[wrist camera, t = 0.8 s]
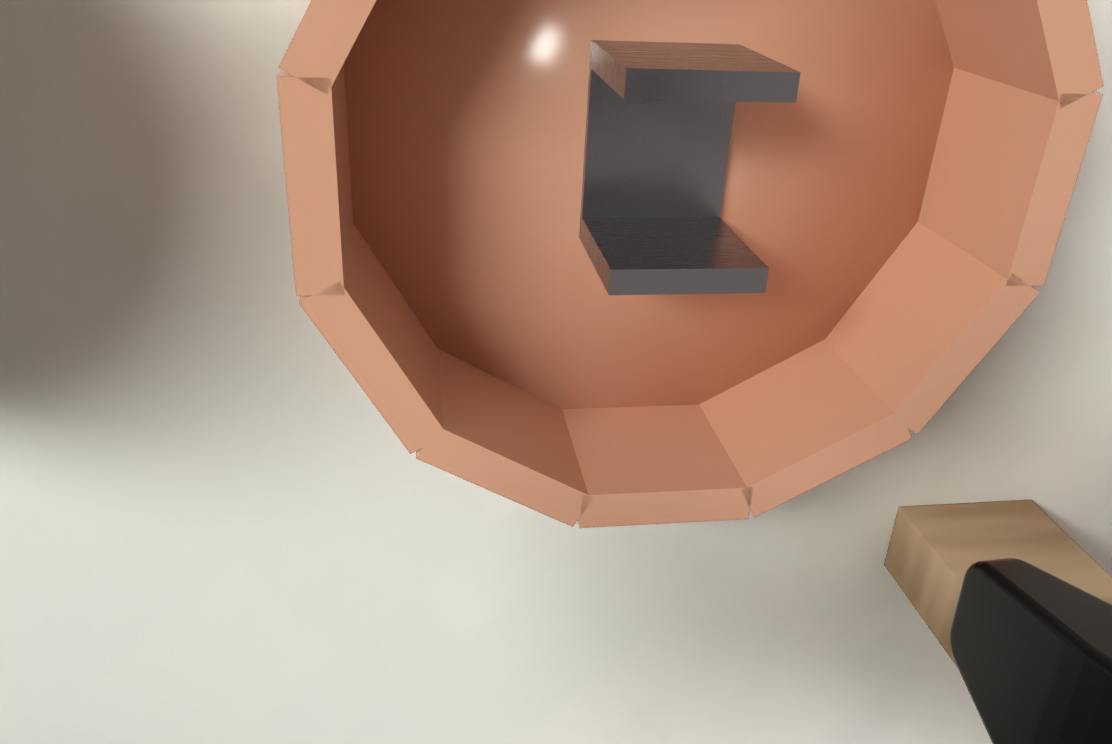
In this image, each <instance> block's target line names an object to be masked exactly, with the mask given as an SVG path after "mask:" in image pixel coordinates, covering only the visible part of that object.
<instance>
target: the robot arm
mask: <svg viewBox="0 0 1112 744" xmlns="http://www.w3.org/2000/svg"><path fill="white" fill-rule="evenodd" d="M950 644H951V650H952V654H953V657H954V660H955V662H956V664H957V667H958V669H959V671H960V673H961V675H962V677H963V680H964V682H965V684H966V686H967V688H968V691H969V693H970V695H971V697H972V699H973V701H974V704H975V706H976V708H977V710H978V712H979V715H980V717H981V719H982V721H983V723H984V725H985V728H986V730H987V732H988V734H989V736H990V739H991V741H992V743H993V744H1112V604H1110V603H1108V602H1106V601H1104V600H1102V599H1100V598H1098V597H1096V596H1094V595H1092V594H1090V593H1088V592H1086V591H1084V590H1082V589H1080V588H1078V587H1076V586H1074V585H1072V584H1070V583H1068V582H1066V581H1064V580H1062V579H1060V578H1058V577H1056V576H1054V575H1052V574H1050V573H1048V572H1046V571H1044V570H1042V569H1040V568H1038V567H1036V566H1034V565H1032V564H1030V563H1028V562H1026V561H1023V560H1021V559H1016V558H1005V559H995V560H985V561H978V562H976V563H973V564H972V565H971V566H970V567H969V568H968V569H967V571H966V573H965V576H964V580H963V583H962V587H961V591H960V595H959V599H958V602H957V606H956V610H955V614H954V618H953V621H952V625H951V630H950Z"/></svg>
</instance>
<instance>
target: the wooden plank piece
mask: <svg viewBox="0 0 1112 744" xmlns="http://www.w3.org/2000/svg"><path fill="white" fill-rule="evenodd" d="M1005 558H1016V559H1021V560H1023V561H1026V562H1028V563H1030V564H1032V565H1034V566H1036V567H1038V568H1040V569H1042V570H1044V571H1046V572H1048V573H1050V574H1052V575H1054V576H1056V577H1058V578H1060V579H1062V580H1064V581H1066V582H1068V583H1070V584H1072V585H1074V586H1076V587H1078V588H1080V589H1082V590H1084V591H1086V592H1088V593H1090V594H1092V595H1094V596H1096V597H1098V598H1100V599H1102V600H1104V601H1106V602H1108V603H1110V604H1112V577H1111V576H1110V575H1109V574H1108V573H1107V572H1106V571H1105V570H1104V569H1103V568H1102V567H1101V566H1100V565H1099V564H1098V563H1097V562H1096V561H1095V560H1094V559H1092V558H1091V557H1090V556H1089V555H1088V554H1087V553H1086V552H1085V551H1084V550H1083V549H1082V548H1081V547H1080V546H1079V545H1078V544H1077V543H1076V542H1075V541H1074V540H1073V539H1072V538H1071V537H1070V536H1069V535H1068V534H1067V533H1066V532H1065V531H1064V530H1062V529H1061V528H1060V527H1059V526H1058V525H1057V524H1056V523H1055V522H1054V521H1053V520H1052V519H1051V518H1050V517H1049V516H1048V515H1047V514H1046V513H1045V512H1044V511H1043V510H1042V509H1041V508H1040V507H1039V506H1038V505H1037V504H1036V503H1035V502H1034V501H1033V500H1018V501H999V502H980V503H961V504H942V505H923V506H904V507H899V509H898V513H897V517H896V521H895V524H894V528H893V532H892V536H891V540H890V544H889V547H888V551H887V555H886V559H885V563H884V565H885V567H886V568H887V570H888V571H889V572H890V574H891V575H892V577H893V578H894V579H895V581H896V582H897V583H898V585H899V586H900V588H901V589H902V590H903V592H904V593H905V595H906V596H907V597H908V599H909V600H910V602H911V603H912V604H913V606H914V607H915V609H916V610H917V611H918V613H919V614H920V616H921V617H922V618H923V620H924V621H925V623H926V624H927V625H928V627H929V628H930V630H931V631H932V632H933V634H934V635H935V637H936V638H937V639H938V641H939V642H940V644H941V645H942V646H943V648H944V649H945V651H946V652H947V653H948V655H949V656H950V657H951V659H952V660H953V662H954V663H955V664H956V662H955V660H954V657H953V654H952V650H951V644H950V630H951V625H952V621H953V618H954V614H955V610H956V606H957V602H958V599H959V595H960V591H961V587H962V583H963V580H964V576H965V573H966V571H967V569H968V568H969V567H970V566H971V565H972V564H973V563H976V562H978V561H985V560H995V559H1005ZM956 666H957V664H956Z"/></svg>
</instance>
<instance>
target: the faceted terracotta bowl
mask: <svg viewBox="0 0 1112 744" xmlns="http://www.w3.org/2000/svg"><path fill="white" fill-rule="evenodd" d="M591 40H608V41H643V42H678V43H713V44H740V45H742V46H744V47H747V48H749V49H751V50H753V51H755V52H758V53H760V54H762V55H764V56H766V57H768V58H771V59H773V60H775V61H777V62H779V63H782V64H784V65H786V66H788V67H790V68H792V69H795V70H797V71H799V72H801V74H800V80H799V87H798V93H797V99H796V103H783V102H735V109H734V117H733V124H732V132H731V139H730V147H729V155H728V162H727V170H726V177H725V185H724V192H723V200H722V207H721V215H720V218H721V219H722V220H723V221H724V222H725V223H726V224H727V225H728V226H729V227H730V228H731V229H732V230H733V231H734V232H735V233H736V234H737V235H738V236H739V238H740V239H741V240H742V241H743V242H744V243H745V244H746V245H747V246H748V247H749V248H750V249H751V250H752V251H753V252H754V253H755V254H756V255H757V256H758V257H759V258H760V259H761V260H762V261H763V262H764V263H765V264H766V265H767V266H768V267H769V272H768V279H767V285H766V291H765V293H737V294H667V295H608V293H607V291H606V289H605V287H604V285H603V283H602V281H601V279H600V277H599V275H598V273H597V271H596V269H595V268H594V266H593V264H592V262H591V260H590V258H589V256H588V254H587V252H586V250H585V248H584V246H583V244H582V242H581V240H580V238H579V231H580V215H581V198H582V182H583V165H584V148H585V132H586V115H587V99H588V82H589V66H590V49H591ZM279 68H281V69H282V70H281V71H280V73H279V74H278V76H277V84H278V96H279V107H280V118H281V130H282V141H283V152H284V164H285V175H286V186H287V197H288V209H289V220H290V231H291V243H292V254H293V265H294V277H295V288H296V296H301V298H300V302H299V304H300V305H301V307H302V308H303V309H304V311H305V312H306V313H307V315H308V316H309V317H310V319H311V320H312V321H313V323H314V324H315V326H316V327H317V328H318V330H319V331H320V332H321V334H322V335H323V336H324V338H325V339H326V340H327V342H328V343H329V344H330V346H331V347H332V349H333V350H334V351H335V353H336V354H337V355H338V357H339V358H340V359H341V361H342V362H343V363H344V365H345V366H346V367H347V369H348V370H349V372H350V373H351V374H352V376H353V377H354V378H355V380H356V381H357V382H358V384H359V385H360V386H361V388H362V389H363V390H364V392H365V393H366V395H367V396H368V397H369V399H370V400H371V401H372V403H373V404H374V405H375V407H376V408H377V409H378V411H379V412H380V413H381V415H382V416H383V418H384V419H385V420H386V422H387V423H388V424H389V426H390V427H391V428H392V430H393V431H394V432H395V434H396V435H397V436H398V438H399V439H400V441H401V442H402V443H403V445H404V446H405V447H406V449H407V450H408V451H409V453H410V454H411V453H413V452H415V451H416V459H419V460H421V461H423V462H426V463H428V464H430V465H432V466H435V467H437V468H439V469H442V470H444V471H446V472H448V473H451V474H453V475H455V476H458V477H460V478H462V479H464V480H467V481H469V482H471V483H474V484H476V485H478V486H480V487H483V488H485V489H487V490H490V491H492V492H494V493H496V494H499V495H501V496H503V497H506V498H508V499H510V500H512V501H515V502H517V503H519V504H522V505H524V506H526V507H528V508H531V509H533V510H535V511H538V512H540V513H542V514H545V515H547V516H549V517H551V518H554V519H556V520H558V521H561V522H563V523H565V524H567V525H570V526H572V527H573V526H574V525H575V523H576V522H577V521H578V524H579V528H589V527H608V526H626V525H645V524H664V523H683V522H702V521H721V520H739V519H748V517H749V511H750V510H751V511H752V513H753V515H754V517H756V516H758V515H760V514H762V513H764V512H766V511H768V510H770V509H772V508H774V507H776V506H778V505H780V504H782V503H784V502H786V501H788V500H790V499H792V498H794V497H796V496H798V495H800V494H802V493H804V492H806V491H808V490H810V489H812V488H814V487H816V486H818V485H820V484H822V483H824V482H826V481H828V480H830V479H832V478H834V477H836V476H838V475H840V474H842V473H844V472H846V471H848V470H850V469H852V468H854V467H856V466H858V465H860V464H862V463H864V462H866V461H868V460H870V459H872V458H874V457H876V456H878V455H880V454H882V453H884V452H886V451H888V450H890V449H892V448H894V447H896V446H898V445H899V444H901V443H903V442H905V441H907V440H909V439H911V435H910V433H909V430H908V429H910V430H911V431H913V432H915V433H917V434H918V433H919V432H920V430H921V429H922V428H923V427H924V426H925V425H926V423H927V422H928V421H929V420H930V419H931V418H932V416H933V415H934V414H935V413H936V412H937V411H938V410H939V408H940V407H941V406H942V405H943V404H944V403H945V401H946V400H947V399H948V398H949V397H950V396H951V395H952V393H953V392H954V391H955V390H956V389H957V388H958V386H959V385H960V384H961V383H962V382H963V381H964V380H965V378H966V377H967V376H968V375H969V374H970V373H971V371H972V370H973V369H974V368H975V367H976V366H977V365H978V363H979V362H980V361H981V360H982V359H983V358H984V356H985V355H986V354H987V353H988V352H989V351H990V350H991V348H992V347H993V346H994V345H995V344H996V343H997V341H998V340H999V339H1000V338H1001V337H1002V336H1003V334H1004V333H1005V332H1006V331H1007V330H1008V329H1009V328H1010V326H1011V325H1012V324H1013V323H1014V322H1015V321H1016V319H1017V318H1018V317H1019V316H1020V315H1021V314H1022V313H1023V311H1024V310H1025V309H1026V308H1027V307H1028V306H1029V304H1030V303H1031V302H1032V301H1033V300H1034V299H1035V298H1036V296H1037V295H1038V294H1039V293H1040V292H1039V291H1037V290H1036V289H1034V288H1033V287H1032V286H1044V283H1045V280H1046V277H1047V274H1048V270H1049V267H1050V264H1051V261H1052V257H1053V254H1054V251H1055V248H1056V244H1057V241H1058V238H1059V235H1060V231H1061V228H1062V225H1063V222H1064V218H1065V215H1066V212H1067V209H1068V206H1069V202H1070V199H1071V196H1072V193H1073V189H1074V186H1075V183H1076V180H1077V176H1078V173H1079V170H1080V167H1081V163H1082V160H1083V157H1084V154H1085V150H1086V147H1087V144H1088V141H1089V137H1090V134H1091V131H1092V128H1093V125H1094V121H1095V118H1096V115H1097V112H1098V108H1099V105H1100V102H1101V99H1102V95H1103V94H1100V93H1097V92H1093V91H1095V90H1097V89H1099V88H1101V87H1102V86H1103V81H1102V76H1101V71H1100V66H1099V60H1098V55H1097V50H1096V45H1095V40H1094V35H1093V29H1092V24H1091V19H1090V14H1089V9H1088V4H1087V0H311V2H310V4H309V6H308V8H307V10H306V13H305V15H304V17H303V19H302V21H301V23H300V25H299V27H298V29H297V31H296V33H295V35H294V37H293V39H292V41H291V43H290V45H289V47H288V49H287V51H286V53H285V55H284V57H283V59H282V61H281V63H280V65H279Z"/></svg>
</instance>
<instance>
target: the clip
mask: <svg viewBox="0 0 1112 744" xmlns="http://www.w3.org/2000/svg"><path fill="white" fill-rule="evenodd" d="M800 74H801V72H799V71H797V70H795V69H792V68H790V67H788V66H786V65H784V64H782V63H779V62H777V61H775V60H773V59H771V58H768V57H766V56H764V55H762V54H760V53H758V52H755V51H753V50H751V49H749V48H747V47H744V46H742V45H740V44H713V43H678V42H643V41H608V40H591V49H590V66H589V82H588V99H587V115H586V132H585V148H584V165H583V182H582V198H581V215H580V231H579V238H580V240H581V242H582V244H583V246H584V248H585V250H586V252H587V254H588V256H589V258H590V260H591V262H592V264H593V266H594V268H595V269H596V271H597V273H598V275H599V277H600V279H601V281H602V283H603V285H604V287H605V289H606V291H607V293H608V295H667V294H737V293H765V291H766V285H767V279H768V272H769V267H768V266H767V265H766V264H765V263H764V262H763V261H762V260H761V259H760V258H759V257H758V256H757V255H756V254H755V253H754V252H753V251H752V250H751V249H750V248H749V247H748V246H747V245H746V244H745V243H744V242H743V241H742V240H741V239H740V238H739V236H738V235H737V234H736V233H735V232H734V231H733V230H732V229H731V228H730V227H729V226H728V225H727V224H726V223H725V222H724V221H723V220H722V219H721V218H720V215H721V207H722V200H723V192H724V185H725V177H726V170H727V162H728V155H729V147H730V139H731V132H732V124H733V117H734V109H735V102H783V103H796V99H797V93H798V87H799V80H800Z"/></svg>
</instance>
